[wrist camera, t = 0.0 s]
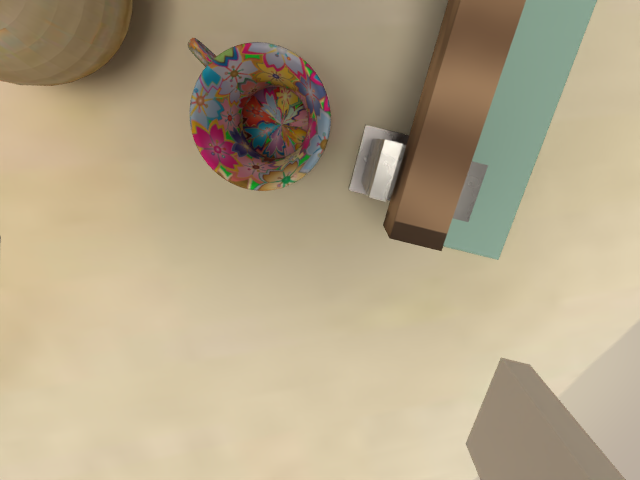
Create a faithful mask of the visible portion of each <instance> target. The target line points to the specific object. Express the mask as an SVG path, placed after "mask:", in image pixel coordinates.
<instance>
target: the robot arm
mask: <svg viewBox="0 0 640 480" xmlns="http://www.w3.org/2000/svg"><path fill="white" fill-rule="evenodd" d="M0 241H1V236H0ZM466 446H467V448H468V450H469V453H470V455H471V458H472V460H473V463H474V465H475V467H476V470H477V472H478V475H479V477H480V480H625V478H624V477H623V476H622V475H621V474H620V472H619V471H618V470H617V469H616V468H615V466H614V465H613V464H612V463H611V462H610V461H609V459H608V458H607V457H606V456H605V454H604V453H603V452H602V451H601V450H600V448H599V447H598V446H597V445H596V444H595V442H593V440H592V439H591V438H590V436H589V435H588V434H587V433H586V432H585V430H584V429H583V428H582V427H581V426H580V425H579V423H578V422H577V421H576V420H575V418H574V417H573V416H572V415H571V414H570V412H569V411H568V410H567V409H566V408H565V406H564V405H563V404H562V403H561V402H560V400H559V399H558V398H557V397H556V396H555V394H554V393H553V392H552V391H551V390H550V388H549V387H548V386H547V385H546V384H545V382H544V381H543V380H542V379H541V378H540V376H539V375H538V374H537V373H536V372H535V370H534V369H533V368H532V367H531V366H530V365H529V364H525V363H521V362H517V361H512V360H508V359H504V358H501V359H500V361H499V364H498V366H497V369H496V371H495V374H494V376H493V379H492V381H491V383H490V386H489V388H488V391H487V393H486V396H485V398H484V400H483V403H482V405H481V408H480V410H479V413H478V415H477V417H476V420H475V422H474V425H473V427H472V430H471V432H470V435H469V437H468V439H467V442H466Z"/></svg>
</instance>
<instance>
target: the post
mask: <svg viewBox="0 0 640 480" xmlns="http://www.w3.org/2000/svg"><path fill="white" fill-rule="evenodd" d="M408 138H409V136H408V135H404V134H400V133H397V132H393V131H389V130H385V129H381V128H377V127H373V126H369V125H365V129H364V133H363V137H362V141H361V144H360V148H359V152H358V156H357V160H356V164H355V167H354V171H353V175H352V179H351V183H350V187H349V191H353V192H357V193H361V194H365V195H368V197H369V198H373V199H377V200H381V201H385V202H386V200H391V196H392V193H393V190H394V186H395V183H396V179H397V176H398V172H399V169H400V165H401V162H402V159H403V155H404V152H405V148H406V145H407V141H408ZM487 168H488V165H485V164H481V163H477V162H473V161H472V162H471V165H470V168H469V171H468V174H467V177H466V180H465V183H464V186H463V189H462V192H461V195H460V197H459V200H458V203H457V206H456V209H455V212H454V215H453V219H457V220H461V221H465V222H469V219H470V216H471V213H472V211H473V208H474V205H475V202H476V199H477V196H478V193H479V190H480V188H481V185H482V182H483V179H484V176H485V173H486V170H487Z"/></svg>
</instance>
